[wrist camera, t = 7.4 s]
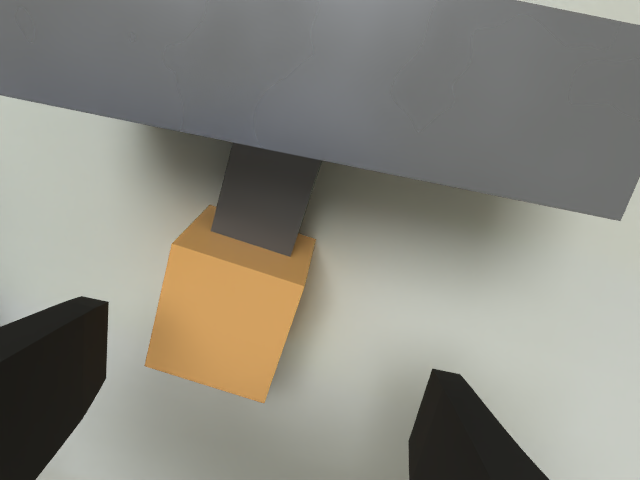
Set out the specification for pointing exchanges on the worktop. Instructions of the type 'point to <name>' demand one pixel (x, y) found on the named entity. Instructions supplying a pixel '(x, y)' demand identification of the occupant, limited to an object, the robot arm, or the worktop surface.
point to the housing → (358, 85)
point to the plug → (237, 276)
